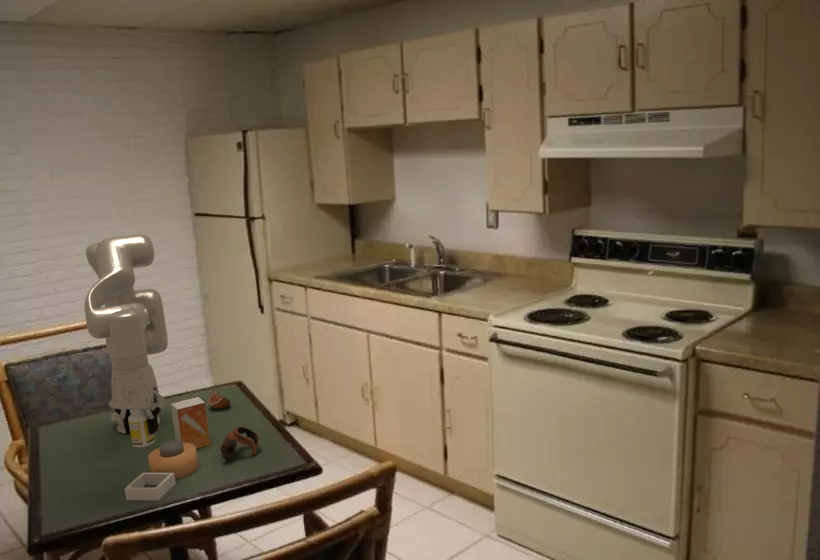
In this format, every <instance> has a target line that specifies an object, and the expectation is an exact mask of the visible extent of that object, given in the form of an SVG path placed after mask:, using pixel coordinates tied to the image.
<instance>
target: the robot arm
mask: <svg viewBox="0 0 820 560" xmlns="http://www.w3.org/2000/svg"><path fill="white" fill-rule="evenodd" d="M85 249H86V250H85V257H86V259H87V260H86V261H87V262H88V264H89V266H90V267H91V268H92V270H93V271H94V273H95V274H96V275H97V277H98V279H99V280H97V281H96V282H95V284H93V285H92V287H91V288H90V290H88V292H87V295H86V296H85V300H84V313H85V322H86V329H87V332H88V334H89V335H90V336H91V337H92V338H94V339H99V340H100V339H105V347H106V351H107V352H108V355H109V362H110V363H111V366H112V370H111V381H110V382H111V384H110V385H111V399H110V401H109V402H108V406H109V407H110V408H111V409H113V410H114V412H112V413H111V416H110V421H111V422H117V423H118V425H117V426H116V429H117V432H118V433H121V434H125V435H131V434H130V428H129V422H128V417H129V416H130V415H131V413H130V410H133V409H145V411H146V413H147V415H148V417H149V419H147V424H148V430H149V434H150V435H152V434H155V433H156V432H158V430H159V425H160V424H161V417H160V416H158V415H160V413H161V412H162V410H163V409H164V407H167V405H168V403H169V402H168V400H166V399H165V397H163V395H161V393H159V391H160V390H159V387H158V383H157V379H156V375H155V372H154V369H153V367H152V364H150V363H149V358H148V356H149V355H150V356H151V355H155V354H159V353H162V352H163V353H164V351H166V350H167V348H168V345H169V344H168V343H169V340H168V339H169V338H168V331H167V325H166V318H165V317H166V316H165V311H164V310H165V309H164V305H163V300H162V297H161V294H160V293H159V292H158V290H157V289H154V288H143V289H136V290H135V289H134V285H135V283H136V276H135V271H134V269H137V268H145V267H149V266H151V265H152V264H153V263H154V260H155V249H154V245H153V242H152V240H151V238H150V237H149V236H148V235H146V234H142V233H141V234H132V235H123V236H115V237H114V236H113V237H107V238H105V239H102V240H101V241H100V242H94V243H92V244H90V245H88V246H87V247H86V248H85ZM157 403H158V405H156V404H157Z"/></svg>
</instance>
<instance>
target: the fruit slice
mask: <svg viewBox="0 0 820 560" xmlns="http://www.w3.org/2000/svg"><path fill="white" fill-rule="evenodd" d="M207 404H208V406H210V407H211V408H214V409H224V408H225V407H227V406H228V405H230V404H231V400H230V399H229V398H226V397H225V396H224V395H222V394H220V393H219V392H218V391H216V390H213V391H212V393H211V394H210V396H209V397H208V400H207ZM223 407H224V408H223Z"/></svg>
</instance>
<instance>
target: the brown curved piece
mask: <svg viewBox="0 0 820 560" xmlns="http://www.w3.org/2000/svg"><path fill="white" fill-rule="evenodd" d="M242 434H245V435H246V436H244V435H242ZM259 438H260V437H259V435H258V434H257V433H256V432H254V431H253V430H251V429H250V428H247V427H244V426H237V427H234V430H233V431H231V432H229V433H228V434H227V435H226V436H225V439H224V440H223V443H222V444H221V445H220V453H221V454H220V455H221V457H222V458H223V459H224V460H225V459H226V458H227V459H232V458H233V456H234V453H235V450H236V449H237V446H238V444H241V445H243V446H248V447H250V448H251V453H250V455H251V456H255V455H256V453H257V450H258V449H259V442H258V441H259V440H260V439H259Z"/></svg>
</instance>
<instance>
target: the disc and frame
mask: <svg viewBox="0 0 820 560" xmlns="http://www.w3.org/2000/svg"><path fill="white" fill-rule="evenodd" d="M147 457H148V458H147V459H148V464H149V471H150V472H142V473H141V474H140V475H138V476H137V477H136V478H135V479H134V480H133V481H132V482H130V483H129V484H128V485H127V486H126V487H125V488H124V493H125V500H126V501H147V502H148V501H150V502H152V501H153V502H155V501H156V502H158V501H160V500H161V499H162V498H163V497H164V496H165V495H167V493H168V492H170V490H171V489H172V488H173V487H174V486H176V484H177V483H176V480H177V479H182V478H184V477H188V476H189V475H191V474H193V473H195V471H197V470H198V468H199V461H198V454H197V449H196V447H195V445H193V444H190V443H183V442H182V441H178V440H176V439H175V440H170V441H166V442H163V443H162V444H160V445H159V447H158V448H155V449H154V450H152V451H150V453H149V454H148V456H147ZM145 486H156V487H145Z"/></svg>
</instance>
